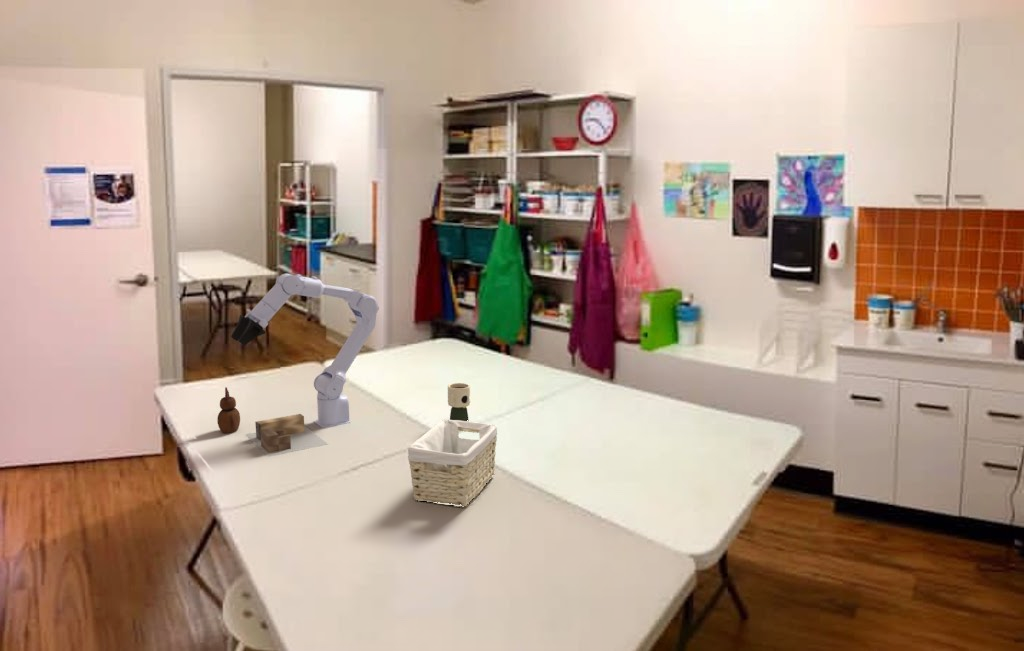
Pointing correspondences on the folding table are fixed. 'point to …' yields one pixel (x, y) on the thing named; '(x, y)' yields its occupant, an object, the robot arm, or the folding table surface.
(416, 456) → the storage basket
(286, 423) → the rail
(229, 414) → the wooden figurine
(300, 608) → the folding table surface
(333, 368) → the robot arm
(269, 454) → the mat
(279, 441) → the bracket
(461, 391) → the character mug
